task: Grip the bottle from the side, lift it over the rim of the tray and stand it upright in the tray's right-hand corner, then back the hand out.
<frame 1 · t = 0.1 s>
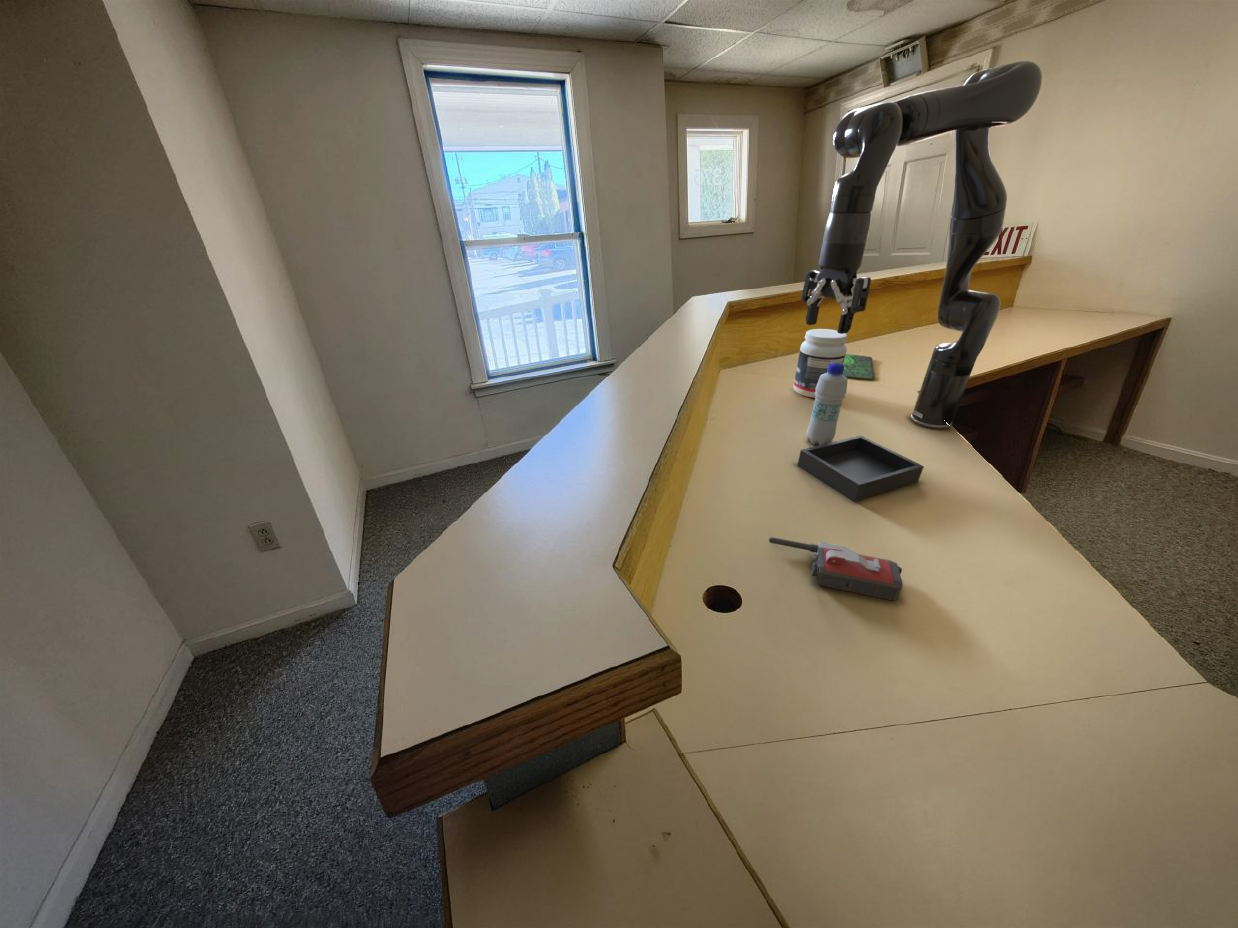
hand: (826, 328, 92), 29 cm above the worktop, tool pointing down, fingers open, 8 cm apart
bottle: (818, 442, 112), on the worktop
supplement tub: (813, 393, 142), on the worktop
walkie-talkie: (831, 571, 73), on the worktop
tray: (855, 473, 99), on the worktop
mouse mat: (839, 366, 165), on the worktop
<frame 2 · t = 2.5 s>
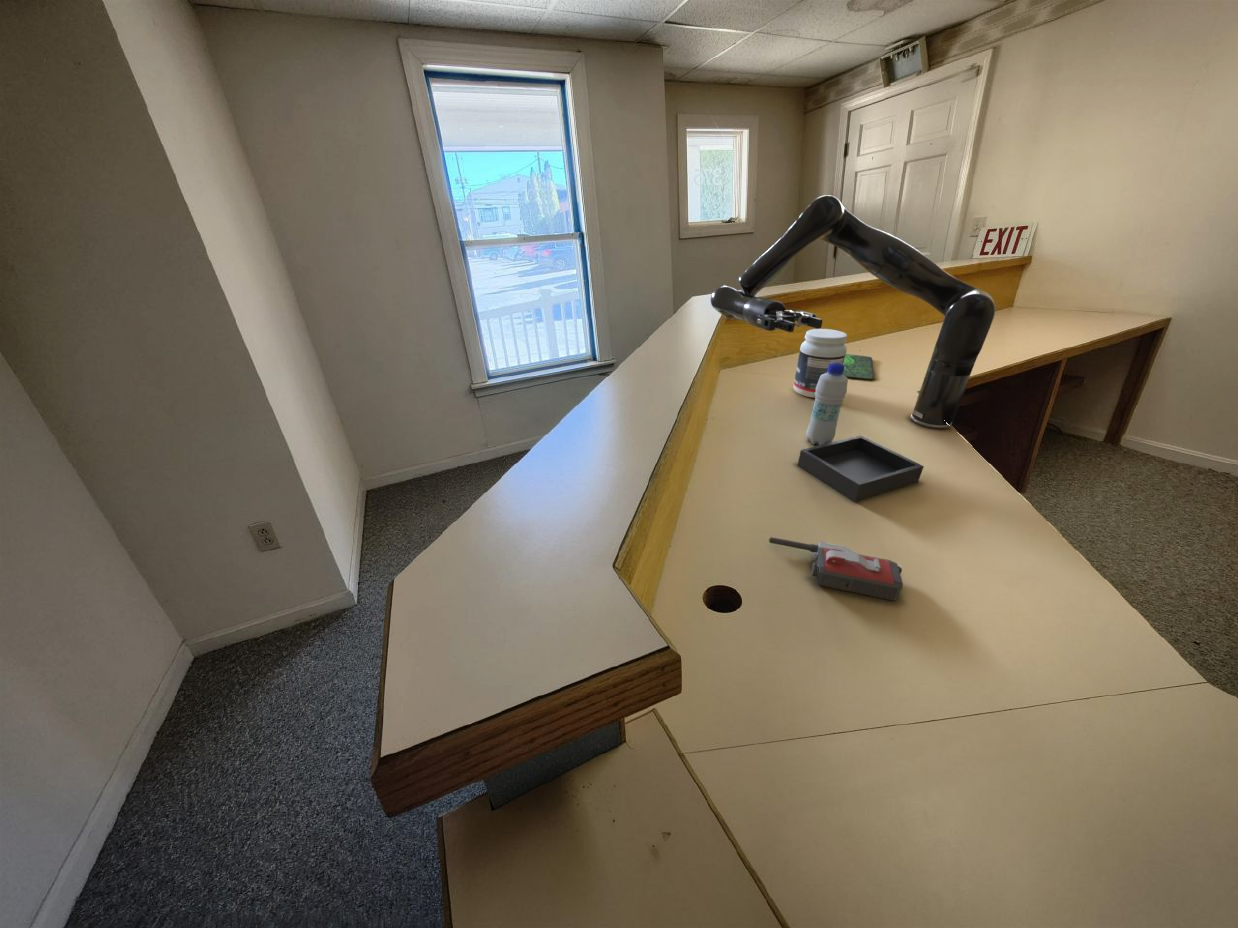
hand: (807, 326, 108), 26 cm above the worktop, tool horizontal, fingers open, 8 cm apart
nothing on the worktop moved.
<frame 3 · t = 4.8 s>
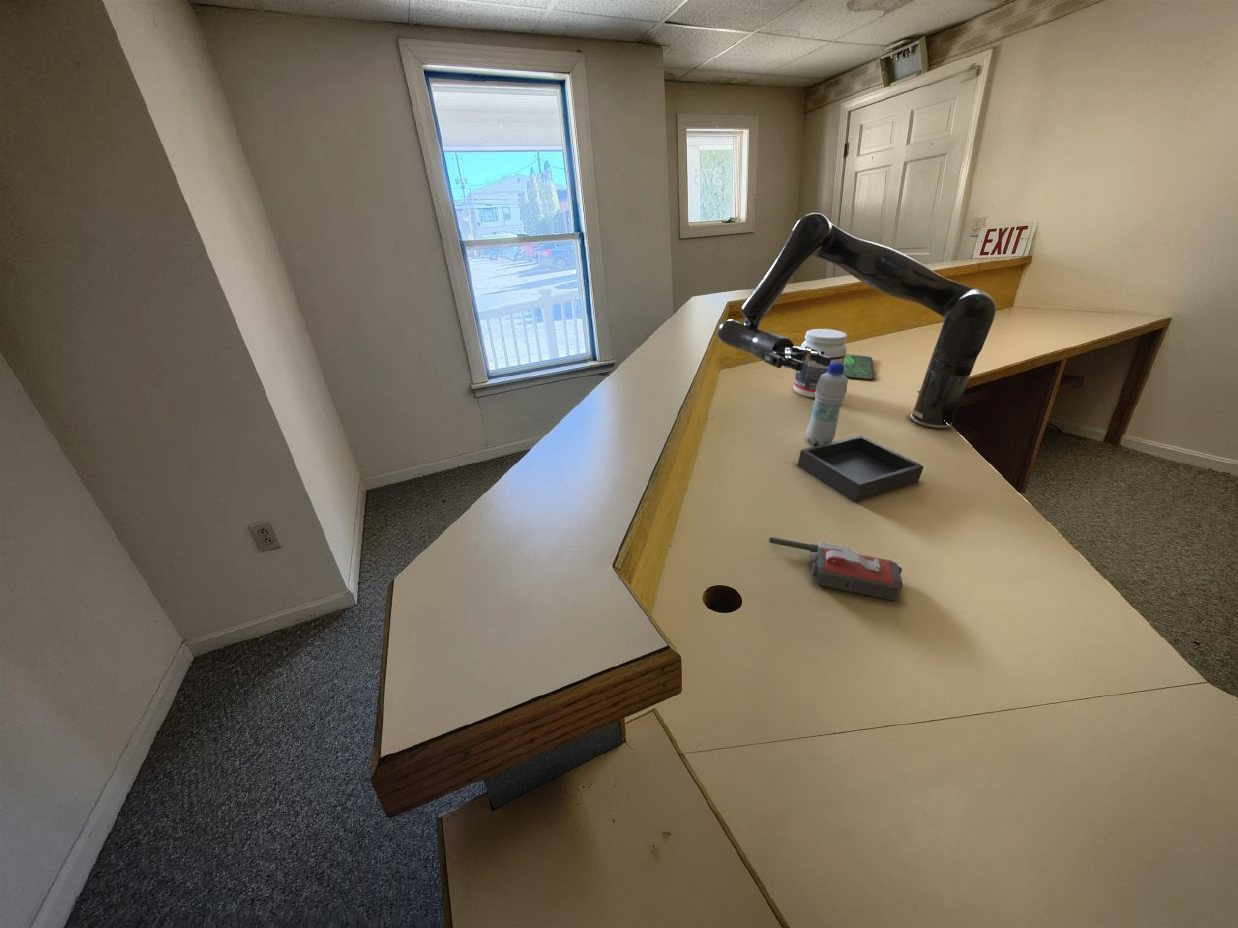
hand: (815, 364, 108), 18 cm above the worktop, tool horizontal, fingers open, 8 cm apart
nothing on the worktop moved.
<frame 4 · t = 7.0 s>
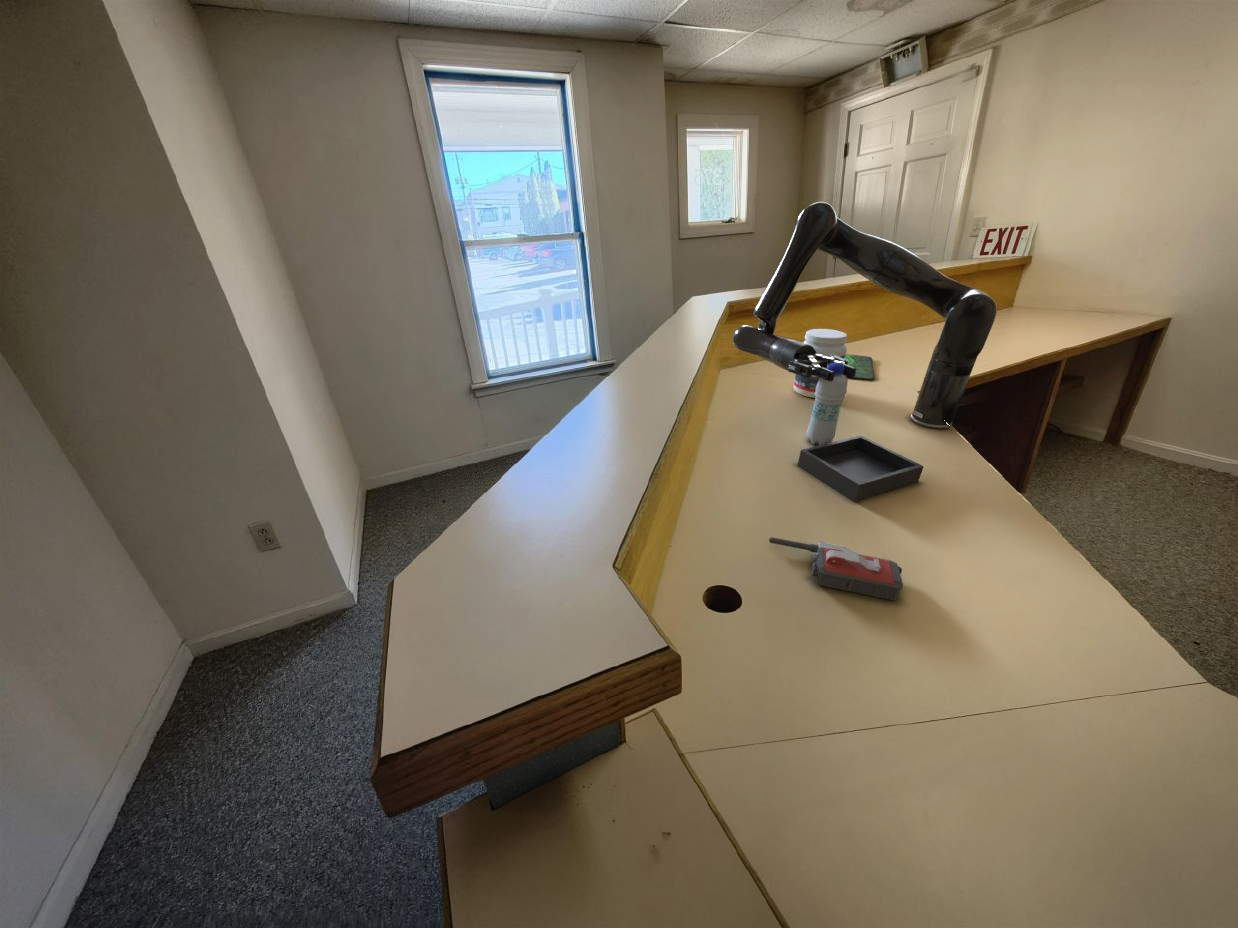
hand: (843, 375, 101), 18 cm above the worktop, tool horizontal, fingers closed on bottle, 5 cm apart
bottle: (818, 442, 112), on the worktop, touching gripper
everything else where it was.
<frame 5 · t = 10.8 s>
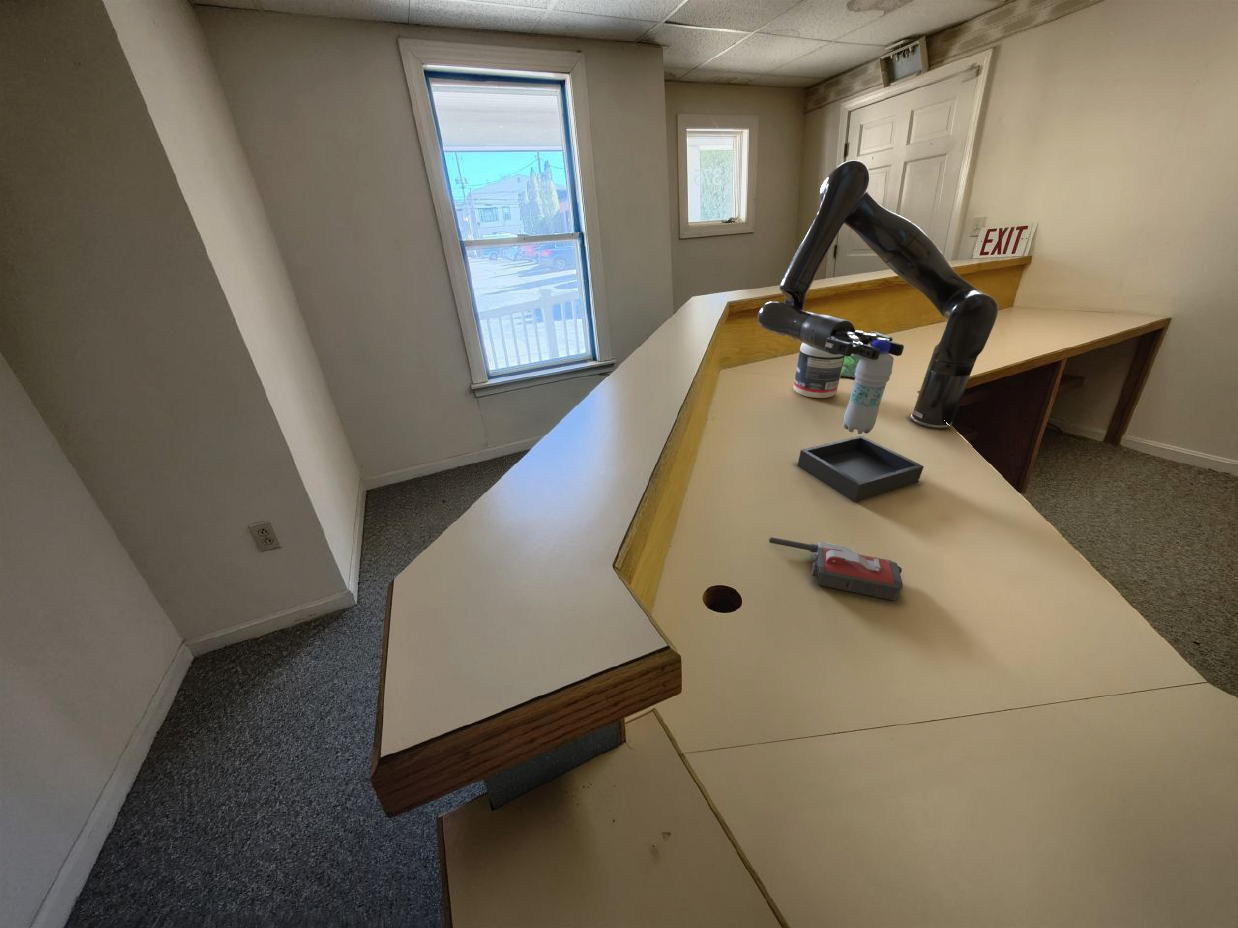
hand: (889, 352, 90), 26 cm above the worktop, tool horizontal, fingers closed on bottle, 5 cm apart
bottle: (856, 430, 101), point 7 cm above the worktop, touching gripper
everything else where it was.
when the fingers open (19 cm above the worktop, at t = 14.5 s): bottle stays where it is, resting on tray.
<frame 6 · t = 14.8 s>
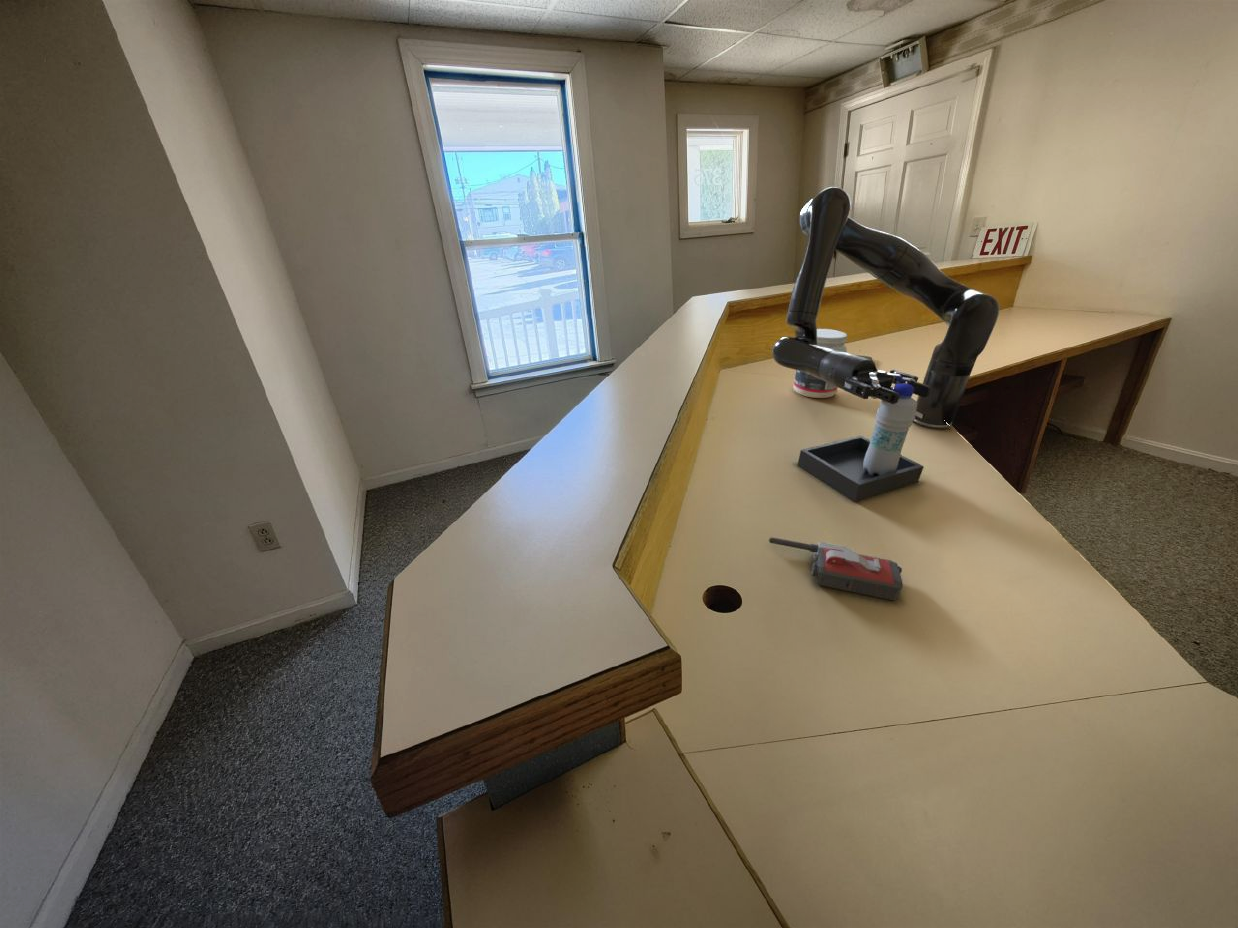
hand: (913, 395, 86), 19 cm above the worktop, tool horizontal, fingers open, 8 cm apart
bottle: (876, 473, 97), point 1 cm above the worktop, touching tray
everything else where it was.
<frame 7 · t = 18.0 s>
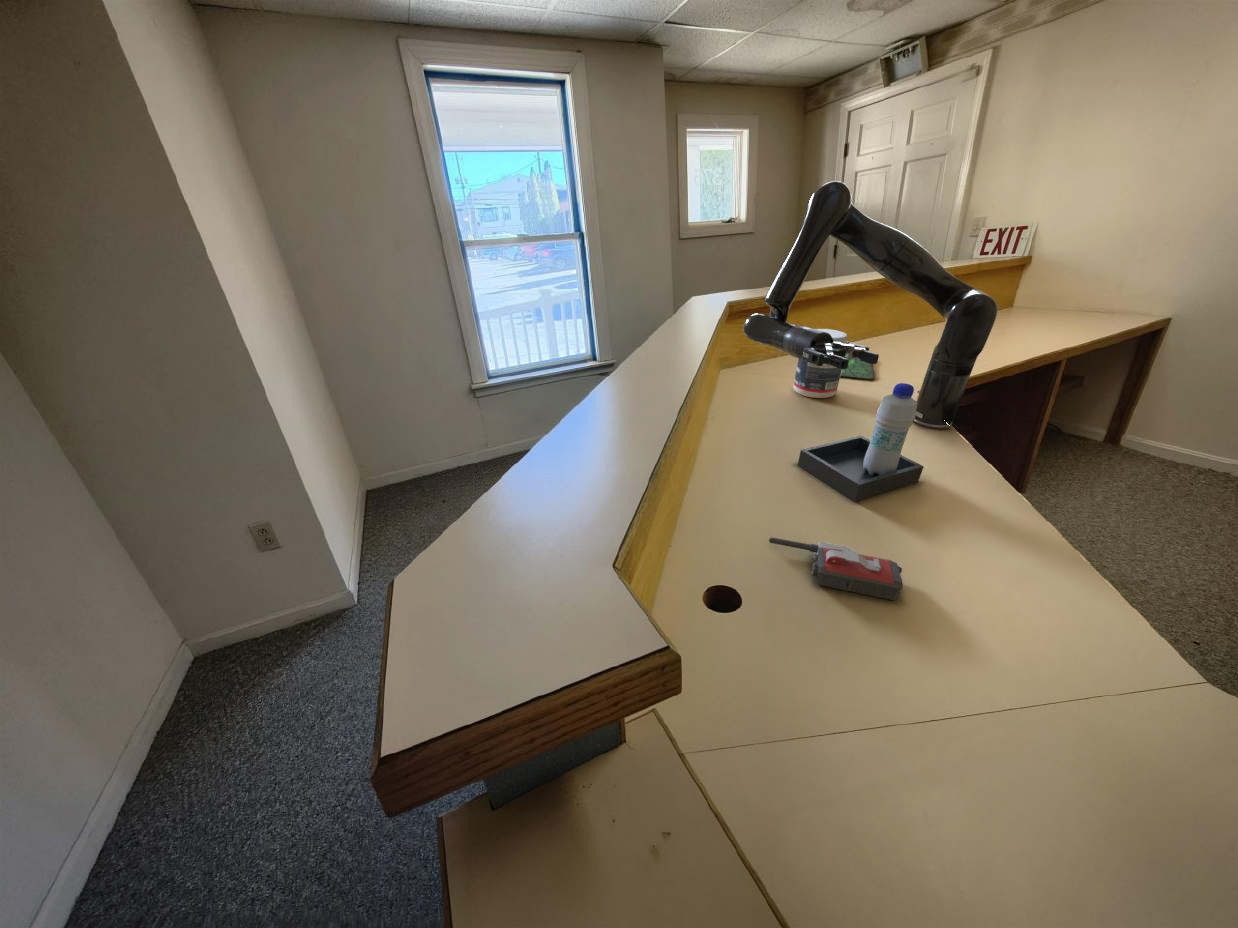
hand: (862, 362, 96), 22 cm above the worktop, tool horizontal, fingers open, 8 cm apart
nothing on the worktop moved.
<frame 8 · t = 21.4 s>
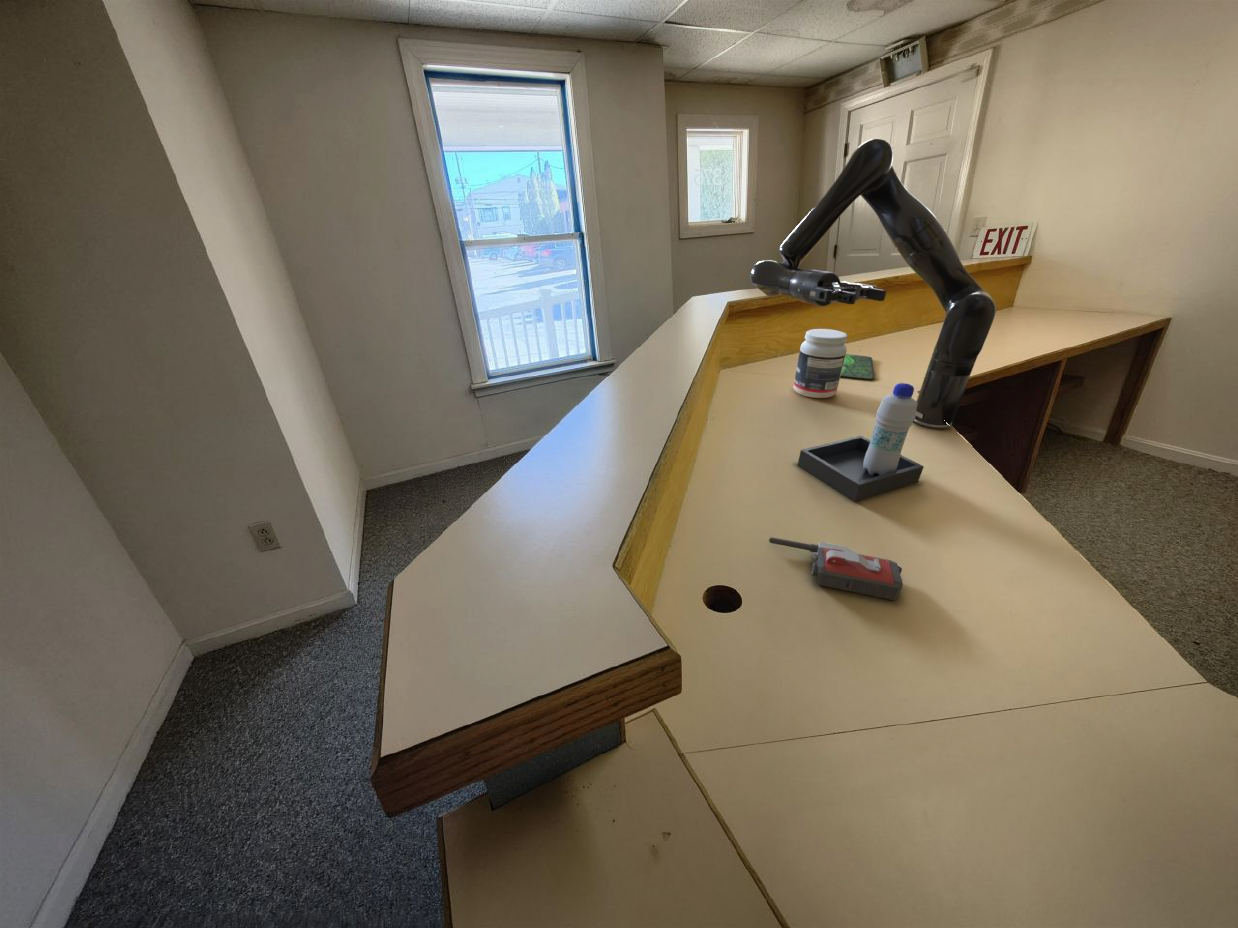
hand: (869, 297, 96), 34 cm above the worktop, tool horizontal, fingers open, 8 cm apart
nothing on the worktop moved.
at the end: bottle inside the target area in the tray (1.0 cm from its centre), point 0.8 cm above the tray's base; bottle tilted 0°; the gripper is holding nothing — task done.
